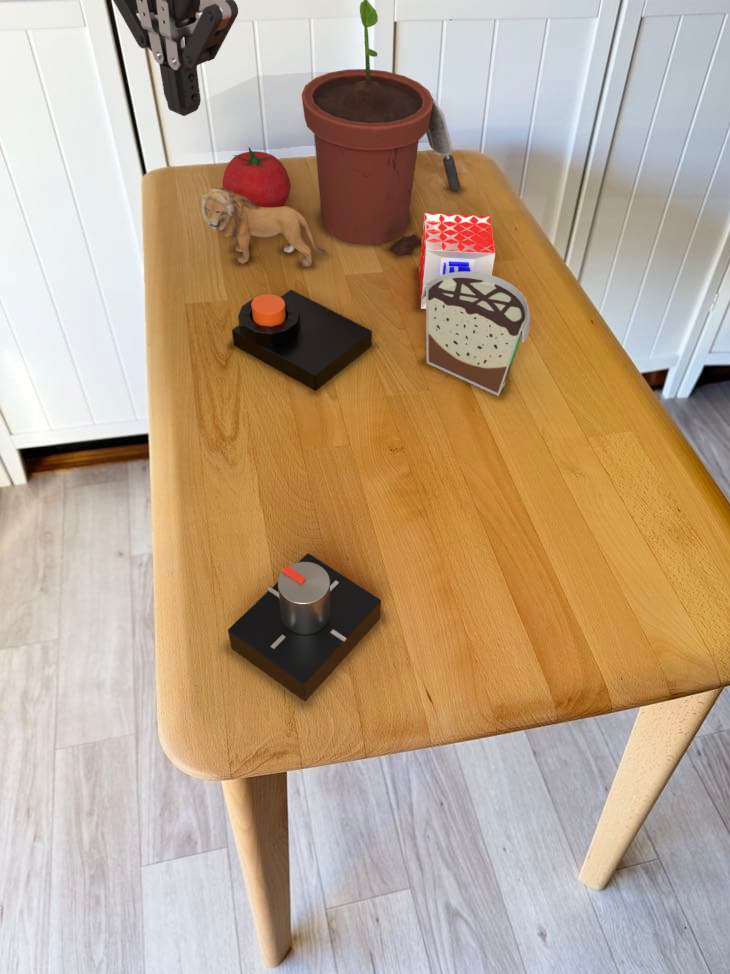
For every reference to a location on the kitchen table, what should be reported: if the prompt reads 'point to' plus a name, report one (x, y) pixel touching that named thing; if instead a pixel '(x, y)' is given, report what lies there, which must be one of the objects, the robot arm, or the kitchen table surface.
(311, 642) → the dial panel
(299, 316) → the black button box
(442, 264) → the red white box
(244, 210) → the lion figurine
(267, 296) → the button
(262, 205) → the tomato
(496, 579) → the kitchen table surface
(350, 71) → the potted plant
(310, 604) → the dial
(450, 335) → the food container
